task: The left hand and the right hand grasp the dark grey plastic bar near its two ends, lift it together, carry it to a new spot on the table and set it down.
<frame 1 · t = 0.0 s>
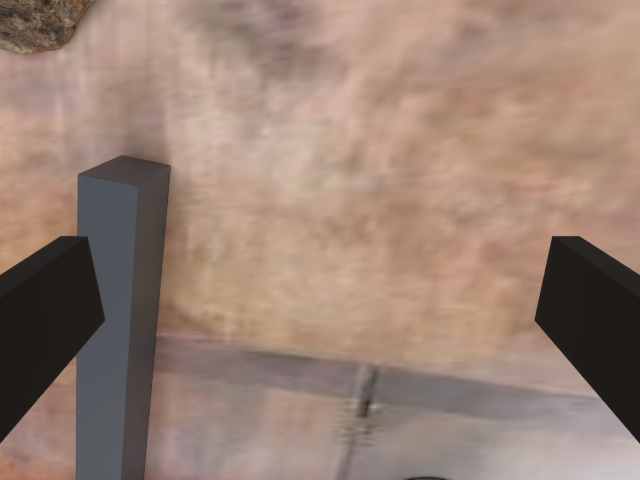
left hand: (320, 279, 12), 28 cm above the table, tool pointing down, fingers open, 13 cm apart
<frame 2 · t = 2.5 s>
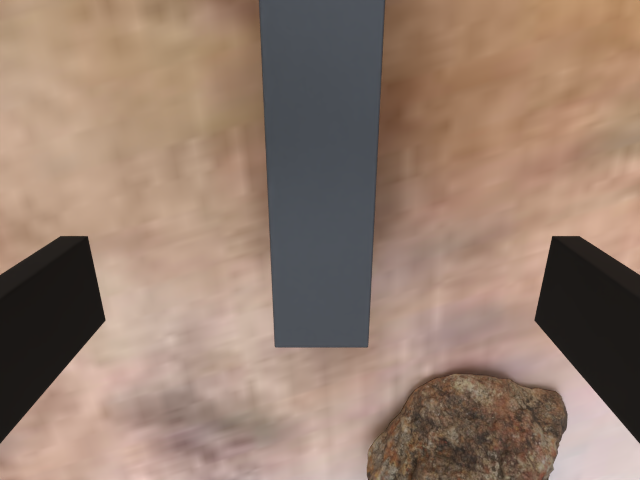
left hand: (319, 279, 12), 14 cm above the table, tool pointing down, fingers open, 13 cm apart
rock: (462, 421, 32), on the table
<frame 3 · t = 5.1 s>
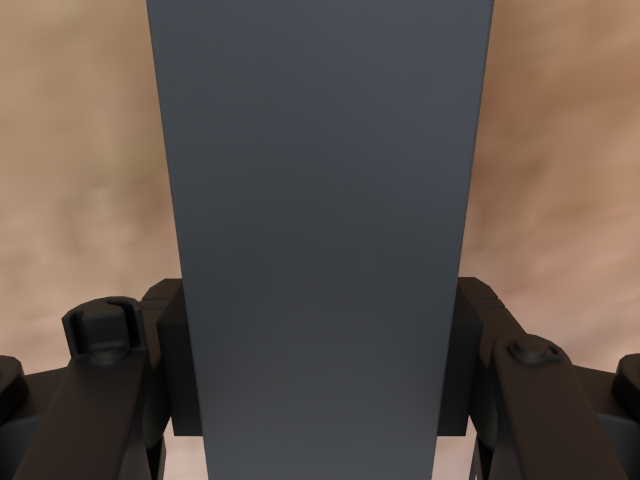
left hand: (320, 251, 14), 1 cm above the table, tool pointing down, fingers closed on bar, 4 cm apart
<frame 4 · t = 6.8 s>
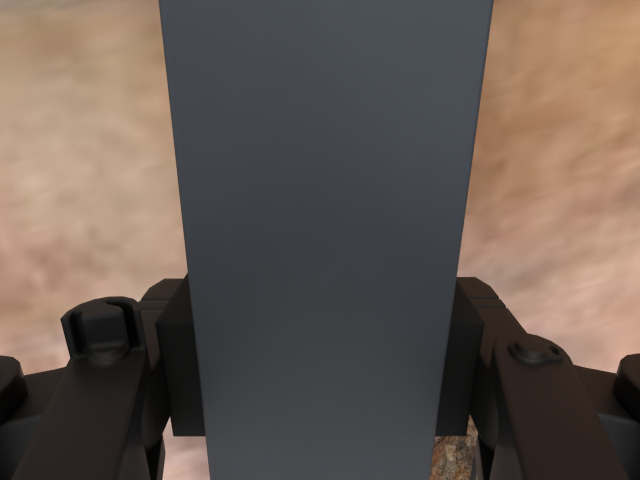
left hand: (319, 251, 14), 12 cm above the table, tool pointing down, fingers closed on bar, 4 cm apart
rock: (502, 448, 33), on the table
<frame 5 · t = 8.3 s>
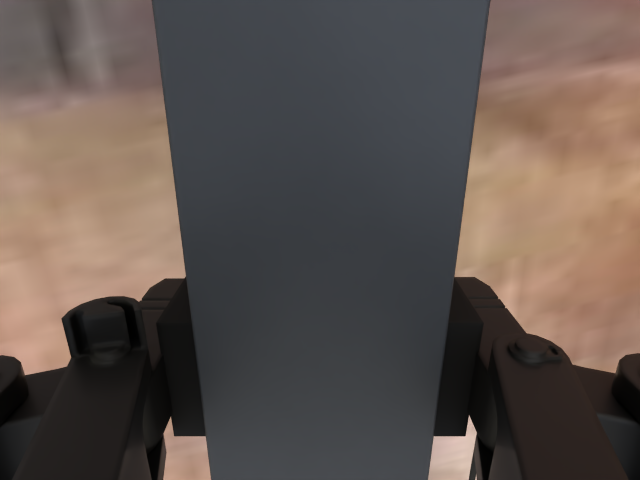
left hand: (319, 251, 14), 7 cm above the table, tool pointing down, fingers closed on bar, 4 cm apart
when the left hand's fingers open (2 cm above the table, at t = 9.0 s): bar drops 2 cm, on the table.
when the right hand's fingers open (4 cm above the table, at t = 9.2 s): bar stays where it is, on the table.
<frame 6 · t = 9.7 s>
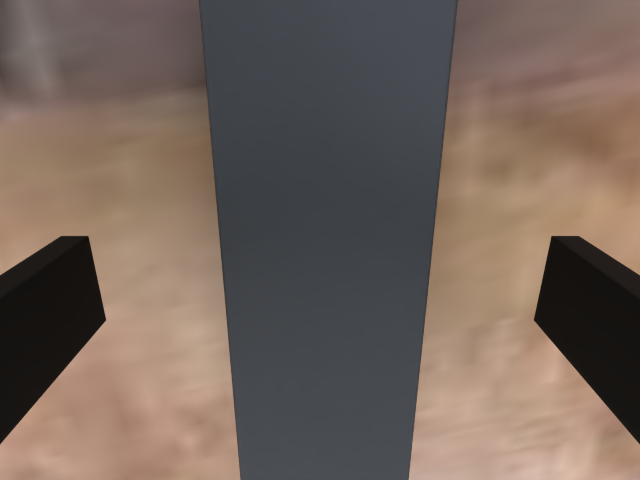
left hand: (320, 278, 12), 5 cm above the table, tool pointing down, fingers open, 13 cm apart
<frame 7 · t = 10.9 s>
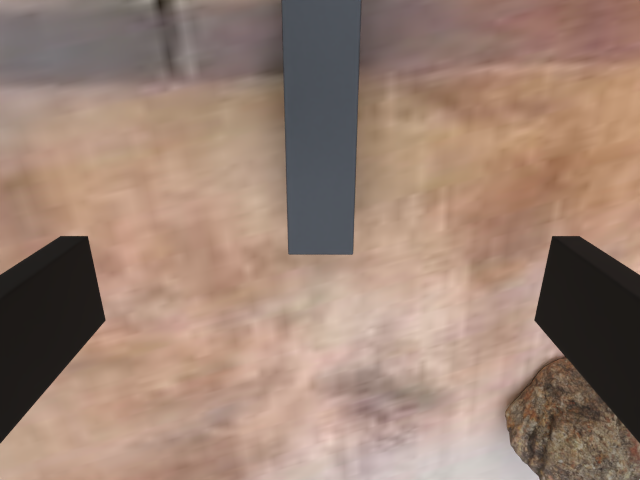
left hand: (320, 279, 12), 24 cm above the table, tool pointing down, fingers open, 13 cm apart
rock: (573, 391, 44), on the table
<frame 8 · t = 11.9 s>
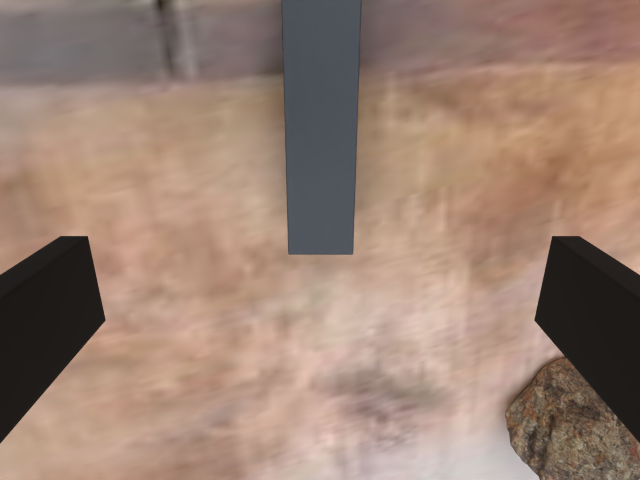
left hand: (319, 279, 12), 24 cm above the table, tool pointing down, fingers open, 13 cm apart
rock: (573, 391, 44), on the table
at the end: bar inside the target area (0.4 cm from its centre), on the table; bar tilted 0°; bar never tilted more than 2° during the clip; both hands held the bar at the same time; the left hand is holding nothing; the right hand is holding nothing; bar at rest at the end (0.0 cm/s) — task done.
